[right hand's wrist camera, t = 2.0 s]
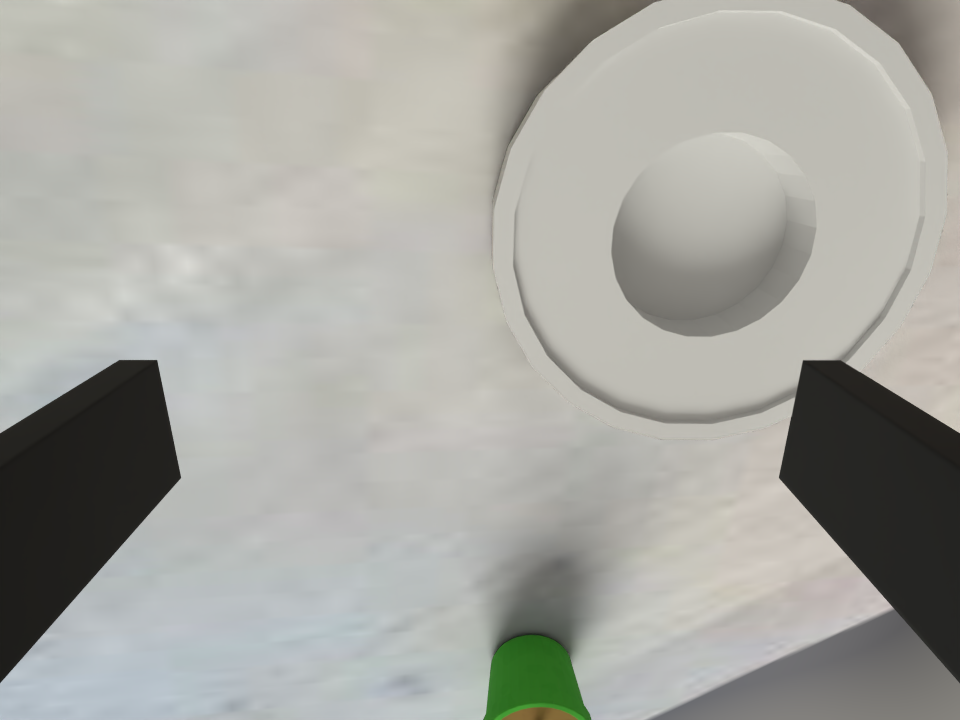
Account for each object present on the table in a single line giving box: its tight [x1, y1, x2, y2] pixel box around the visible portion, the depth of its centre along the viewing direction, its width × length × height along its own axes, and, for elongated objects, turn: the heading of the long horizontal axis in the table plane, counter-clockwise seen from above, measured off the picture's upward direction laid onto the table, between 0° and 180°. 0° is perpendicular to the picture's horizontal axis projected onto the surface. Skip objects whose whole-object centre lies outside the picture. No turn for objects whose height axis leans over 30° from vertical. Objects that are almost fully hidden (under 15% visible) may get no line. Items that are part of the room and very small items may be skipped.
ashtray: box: [492, 0, 948, 440], centre depth 32 cm, size 23×23×4 cm
